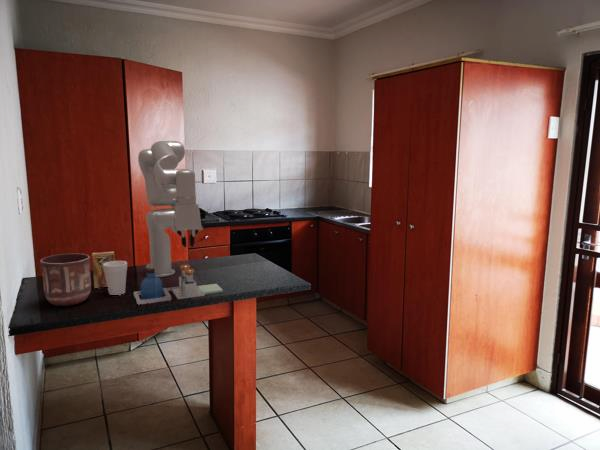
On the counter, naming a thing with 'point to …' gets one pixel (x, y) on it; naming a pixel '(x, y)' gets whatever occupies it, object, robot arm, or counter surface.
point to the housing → (179, 292)
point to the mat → (209, 288)
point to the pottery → (66, 278)
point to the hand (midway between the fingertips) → (188, 245)
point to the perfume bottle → (151, 286)
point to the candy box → (100, 267)
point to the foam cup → (115, 276)
